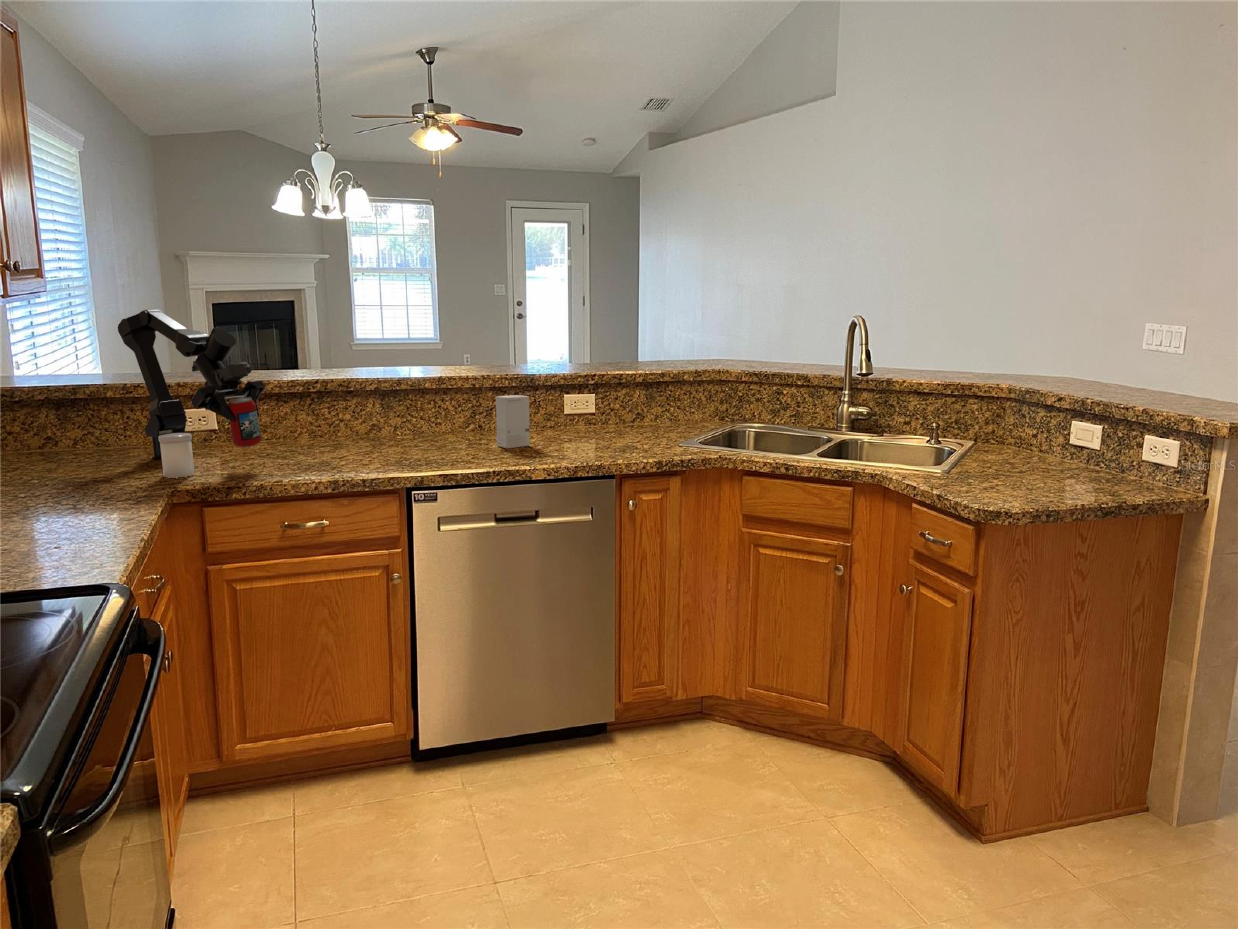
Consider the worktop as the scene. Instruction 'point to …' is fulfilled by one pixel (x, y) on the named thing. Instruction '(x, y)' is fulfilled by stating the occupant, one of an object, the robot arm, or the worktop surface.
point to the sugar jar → (176, 455)
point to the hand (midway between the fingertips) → (246, 418)
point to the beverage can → (244, 422)
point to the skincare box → (512, 421)
